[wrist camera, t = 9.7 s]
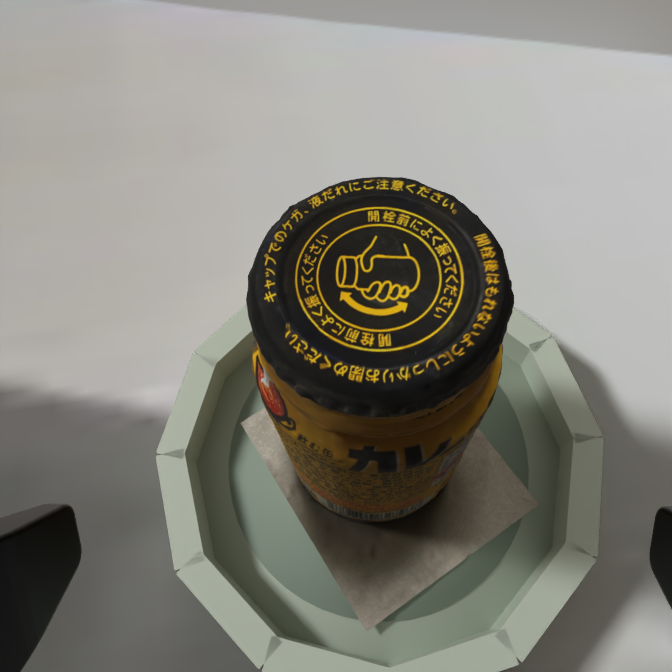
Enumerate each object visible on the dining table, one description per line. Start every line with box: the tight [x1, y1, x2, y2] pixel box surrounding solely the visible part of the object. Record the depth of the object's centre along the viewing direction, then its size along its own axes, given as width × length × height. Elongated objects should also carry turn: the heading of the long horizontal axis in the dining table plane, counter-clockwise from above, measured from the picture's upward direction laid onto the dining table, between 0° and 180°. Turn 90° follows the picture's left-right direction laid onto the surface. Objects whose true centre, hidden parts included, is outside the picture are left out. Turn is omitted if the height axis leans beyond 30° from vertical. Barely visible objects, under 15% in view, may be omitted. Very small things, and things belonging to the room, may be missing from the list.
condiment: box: [241, 177, 539, 632], centre depth 16 cm, size 7×8×12 cm
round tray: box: [156, 304, 604, 672], centre depth 22 cm, size 15×15×2 cm
